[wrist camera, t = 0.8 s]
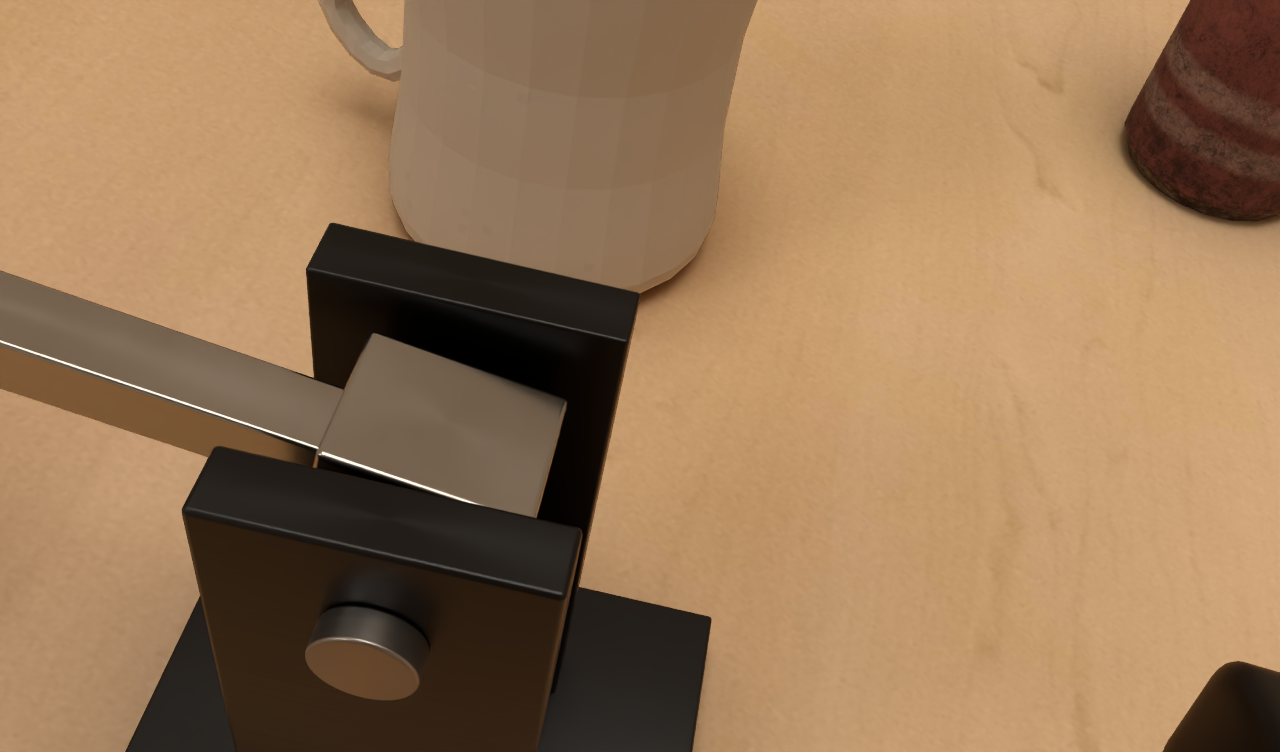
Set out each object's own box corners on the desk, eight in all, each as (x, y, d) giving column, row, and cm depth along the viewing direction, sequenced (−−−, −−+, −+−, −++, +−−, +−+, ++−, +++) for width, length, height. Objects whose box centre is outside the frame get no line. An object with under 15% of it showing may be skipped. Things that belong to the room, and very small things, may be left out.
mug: (760, 187, 37) (853, -134, 29) (613, 374, 31) (681, 33, 24) (416, 29, 39) (421, -302, 32) (221, 174, 34) (172, -189, 26)
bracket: (67, 922, 21) (-150, 565, 13) (245, 540, 26) (177, 111, 18) (640, 1053, 21) (804, 784, 13) (701, 644, 26) (845, 264, 18)
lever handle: (-923, 521, 12) (-1092, 378, 11) (-271, 5, 19) (-308, -134, 17) (407, 905, 14) (449, 837, 13) (578, 311, 21) (622, 212, 19)
